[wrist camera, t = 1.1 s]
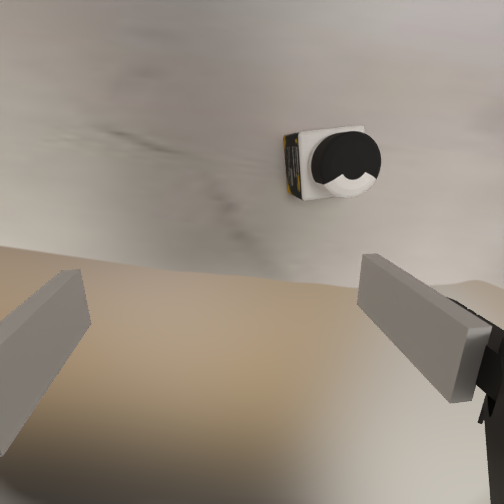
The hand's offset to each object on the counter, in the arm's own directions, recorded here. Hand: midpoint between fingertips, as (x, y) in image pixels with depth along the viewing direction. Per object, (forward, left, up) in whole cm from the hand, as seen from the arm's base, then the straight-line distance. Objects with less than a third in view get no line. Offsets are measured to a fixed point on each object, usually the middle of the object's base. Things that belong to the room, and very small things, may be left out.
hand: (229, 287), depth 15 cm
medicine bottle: (-5, +12, -27) cm, 30 cm away
